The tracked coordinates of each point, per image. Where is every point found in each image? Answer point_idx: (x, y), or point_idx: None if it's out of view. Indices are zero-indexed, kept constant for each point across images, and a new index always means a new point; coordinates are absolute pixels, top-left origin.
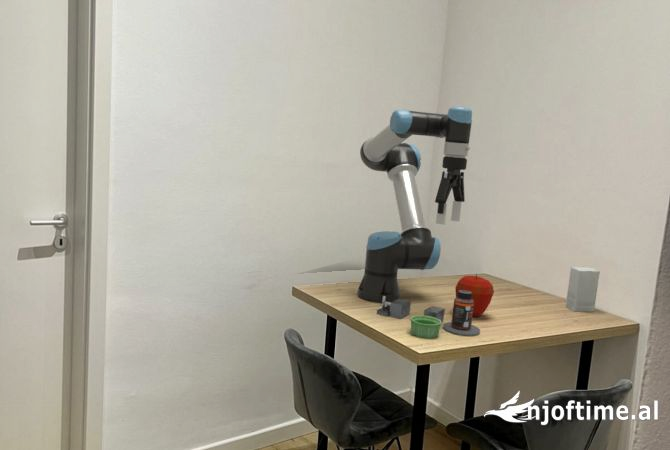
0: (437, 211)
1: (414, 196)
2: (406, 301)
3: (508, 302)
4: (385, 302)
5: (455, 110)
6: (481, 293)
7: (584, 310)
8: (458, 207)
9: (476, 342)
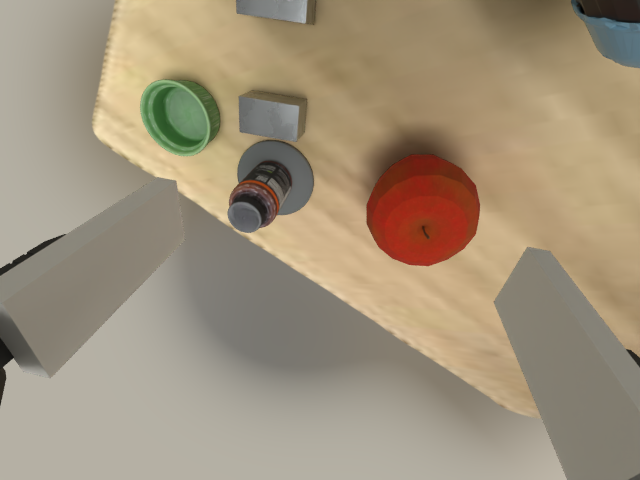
0: (77, 232)
1: None
2: (287, 11)
3: (612, 252)
4: None
5: None
6: (372, 235)
7: None
8: (556, 411)
9: (226, 212)
